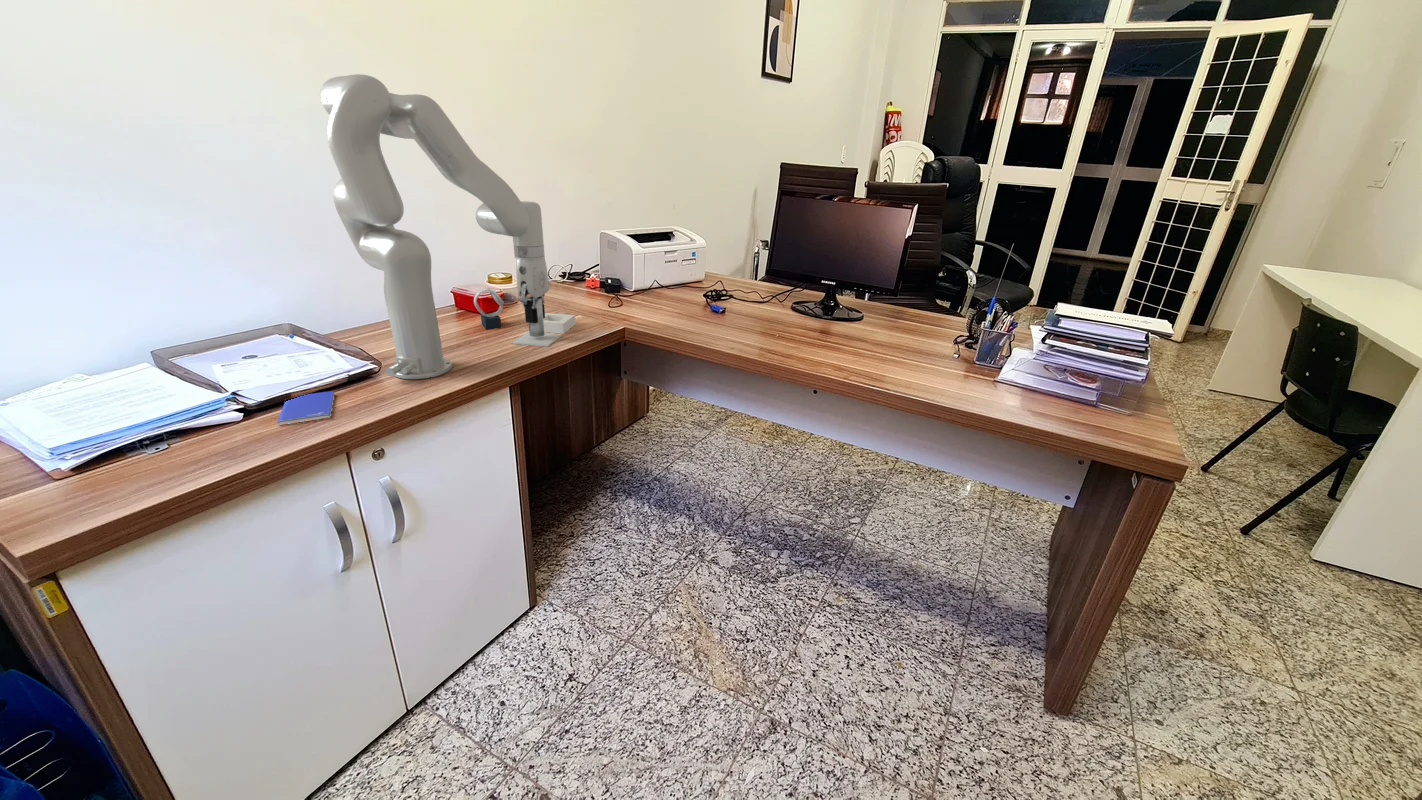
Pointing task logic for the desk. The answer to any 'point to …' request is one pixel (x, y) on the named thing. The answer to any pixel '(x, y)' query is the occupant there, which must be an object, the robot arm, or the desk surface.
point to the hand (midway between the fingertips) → (535, 319)
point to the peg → (538, 328)
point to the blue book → (307, 408)
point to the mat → (537, 340)
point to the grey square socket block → (558, 322)
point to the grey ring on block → (491, 319)
